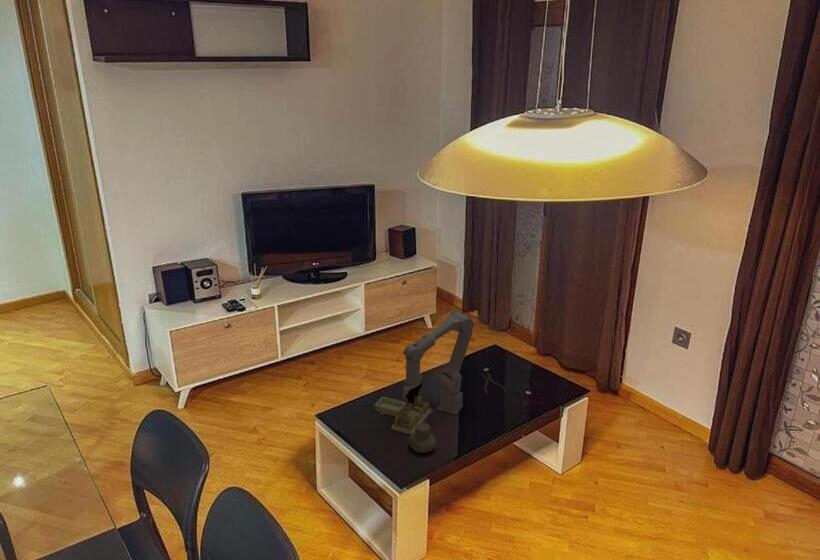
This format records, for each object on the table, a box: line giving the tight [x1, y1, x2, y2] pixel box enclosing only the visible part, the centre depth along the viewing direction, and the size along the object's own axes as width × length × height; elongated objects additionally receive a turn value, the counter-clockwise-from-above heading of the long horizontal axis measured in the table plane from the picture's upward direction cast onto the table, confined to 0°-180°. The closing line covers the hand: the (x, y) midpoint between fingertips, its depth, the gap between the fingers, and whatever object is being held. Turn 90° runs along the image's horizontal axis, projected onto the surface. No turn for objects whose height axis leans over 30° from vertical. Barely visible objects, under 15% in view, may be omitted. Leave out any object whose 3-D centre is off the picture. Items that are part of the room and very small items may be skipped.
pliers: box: [480, 372, 507, 395], centre depth 292 cm, size 10×1×20 cm
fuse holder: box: [391, 402, 433, 436], centre depth 262 cm, size 10×20×4 cm, turn 154°
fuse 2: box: [409, 401, 430, 410], centre depth 267 cm, size 8×3×3 cm, turn 64°
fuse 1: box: [394, 415, 415, 426], centre depth 255 cm, size 8×3×3 cm, turn 64°
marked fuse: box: [402, 393, 423, 403], centre depth 259 cm, size 8×3×3 cm, turn 64°
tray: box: [373, 395, 408, 418], centre depth 269 cm, size 12×8×3 cm, turn 64°
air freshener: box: [408, 422, 437, 454], centre depth 242 cm, size 11×8×10 cm
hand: (412, 401), depth 259 cm, fingers closed on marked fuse, 2 cm apart
